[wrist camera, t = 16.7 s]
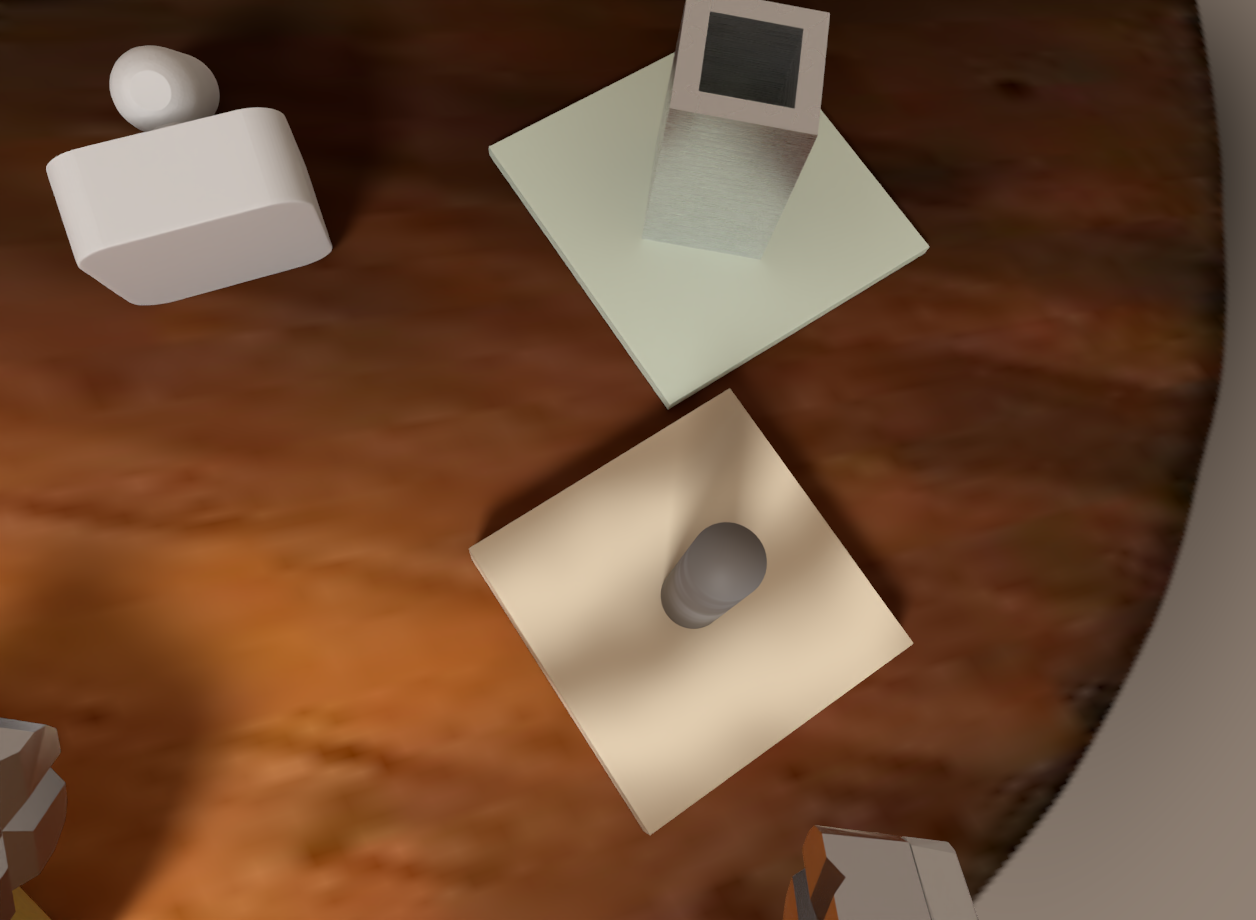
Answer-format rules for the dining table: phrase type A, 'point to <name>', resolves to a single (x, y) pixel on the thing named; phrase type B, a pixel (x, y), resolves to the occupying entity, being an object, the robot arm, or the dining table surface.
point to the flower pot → (26, 907)
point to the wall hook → (186, 188)
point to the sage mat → (689, 277)
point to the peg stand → (688, 607)
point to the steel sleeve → (735, 123)
